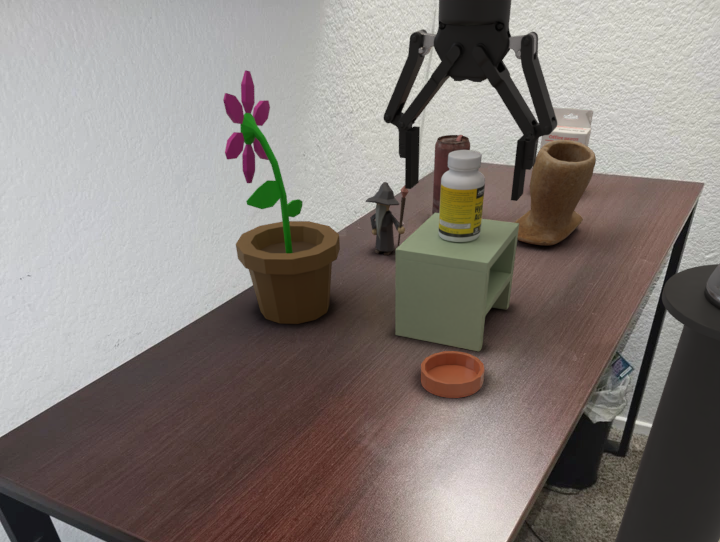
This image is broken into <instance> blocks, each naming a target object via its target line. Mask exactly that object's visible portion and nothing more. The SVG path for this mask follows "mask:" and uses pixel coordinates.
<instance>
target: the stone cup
mask: <svg viewBox="0 0 720 542" xmlns="http://www.w3.org/2000/svg"><path fill="white" fill-rule="evenodd" d="M596 162H597V157H596V153H595V152H594V150H593V149H591V147H589V146H588V147H587V146H586V145H584V144H582V143H579V142H576V141H571V140H555V141H550V142H548V143H546V144H545V145H544V146H543V147H542V148H541V149H540V148H539V150H538V151H537V155H536V162H535V164H534V166H533V167H532V168H531V175H530V181H529V194H530V209H529V210H528V211H527V212H526V213H525V214H523V215H522V216H520V217H519V218H518V219H517V220H515V221H514V222H513V223H519V230H518V238H517V241H520V242H522V243H526V244H531V245H537V246H553V245H557V244H558V243H561V242H562V241H564V240H565V239H566V238H568V237H569V236H570V234H572V233H573V232H574V231H575V230H576V229H577V228H578V227H579V226H580V225H581V224H582V222H583V221H584V218H583V216H582V215H581V214H580V213H578V212H577V211H576V208H577V206H578V204H579V202H580V201H581V199H582V197H583V195H584V193H585V191H586V190H587V188H588V186H589V184H590V183H591V180H592V178H593V176H594V175H593V174H594V169H595V167H596Z"/></svg>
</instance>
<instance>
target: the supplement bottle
mask: <svg viewBox="0 0 720 542" xmlns="http://www.w3.org/2000/svg"><path fill="white" fill-rule="evenodd" d="M482 155H483V154H482V153H481V152H480V151H478V150H473V149H470V150H457V151H453V152H450V153H449V155H448V168H449V171H447V172H445V173H444V174H443V176H442V178H441V193H440V210H439V229H438V233H439V236H440V237H441V238H442V239H444V240H447V241H451V242H469V241H473V240H475V239H477V238H478V237H479V235H480V230H481V220H482V219H483V211H484V210H483V209H484V208H483V207H484V199H485V198H484V197H485V188H486V177H485V175H484V174H483V173H482V172H481V171H479V170H480V169H481V168H482V167H481V165H482V157H483V156H482Z"/></svg>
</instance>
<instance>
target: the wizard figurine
mask: <svg viewBox="0 0 720 542" xmlns="http://www.w3.org/2000/svg"><path fill="white" fill-rule="evenodd" d="M394 193H395V192H394V191H393V189H392V188H391V186H390V185H389V182H387V181H383V182H382V183H381V185H380V186H379V188H378V190H377V192H376V193H375V194H374V195H373V196H370V197H368V198H366V199H365V203H373V204H375V213H374V214H373V215H371V216H370V219H369V220H370V226H371V229H372V230H371V234H372V235H373V236H375V246H374V247H375V250H374V253H376V254H378V255H380V254H382V253H383V256H390V255H391V254H392V252H394V250H395V237H394V228H395V230H396V231H397V233H398V235H397V236H398V237H397V247H398V246H400V244H401V243H400V242H401V235H405V232H406V227H404V224H403V221H404V214H405V206H406V200H407V198H406V197H407V195H408V194H409V189H405V184H404V185H403V186H402V187H401V188H400V194H401V199H400V200H401V201H400V202H399V201H398V200H397V199H396V198H395V197H396V196H395V194H394ZM399 205H400V213H399V220H398V219H397V218H396V217H395V215H394V214H393V212H392V211H391V210H390V207H391V206H399ZM393 225H394V226H393ZM397 247H396V248H397Z"/></svg>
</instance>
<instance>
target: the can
mask: <svg viewBox="0 0 720 542" xmlns="http://www.w3.org/2000/svg"><path fill="white" fill-rule="evenodd" d="M457 150H471V142H470V138H469V137H468V136H466V135H463V134H446V135H442V136H439V137H437V139H436V141H435V144H434V159H433V160H434V161H433V165H434V166H433V187H432V188H433V189H432V210H431V211H432V212H431V213H432V214H431V216H432V215H433V214H434V213H439V210H440V193H441V178H442V176H443V174H444V173H445V172H447V171H449V168H448V155H449V153H450V152H453V151H457Z"/></svg>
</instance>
